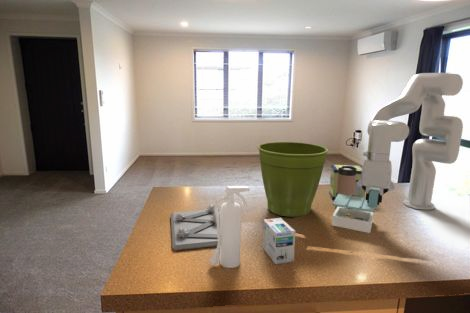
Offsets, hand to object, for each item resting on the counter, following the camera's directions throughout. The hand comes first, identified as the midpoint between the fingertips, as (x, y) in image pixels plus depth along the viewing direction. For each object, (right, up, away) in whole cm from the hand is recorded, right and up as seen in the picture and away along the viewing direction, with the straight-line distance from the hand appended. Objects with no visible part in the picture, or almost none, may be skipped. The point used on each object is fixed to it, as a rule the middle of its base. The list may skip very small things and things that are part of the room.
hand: (373, 202), depth 118 cm
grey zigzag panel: (-67, -11, +1) cm, 68 cm away
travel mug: (-4, -7, +20) cm, 21 cm away
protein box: (+3, -3, +38) cm, 38 cm away
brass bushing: (-7, -9, +7) cm, 13 cm away
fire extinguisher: (-55, -16, -21) cm, 61 cm away
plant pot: (-29, -6, +21) cm, 36 cm away
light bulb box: (-39, -15, -17) cm, 45 cm away
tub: (-6, -10, +5) cm, 13 cm away
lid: (-6, -1, +3) cm, 7 cm away
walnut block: (-5, -10, +2) cm, 11 cm away
